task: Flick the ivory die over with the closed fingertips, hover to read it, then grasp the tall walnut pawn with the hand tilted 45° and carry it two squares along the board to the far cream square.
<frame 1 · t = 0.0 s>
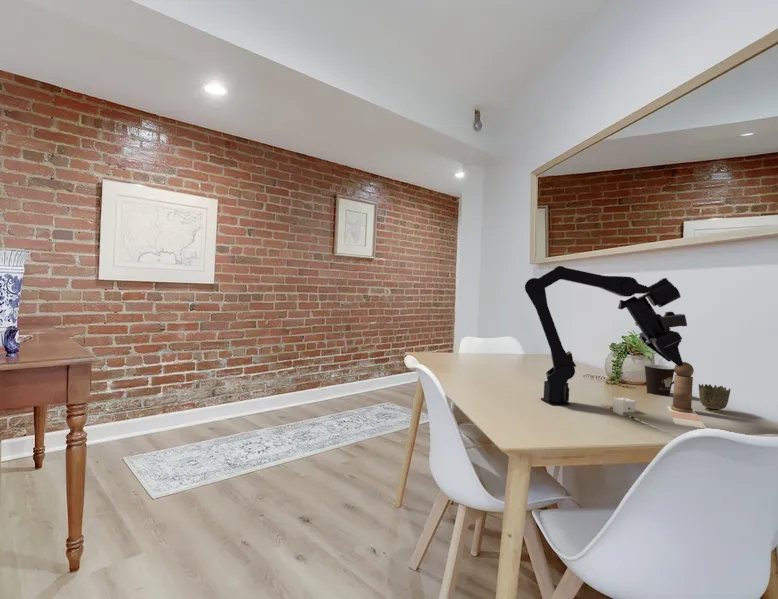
hand: (675, 363, 120), 15 cm above the table, tool tilted 35°, fingers open, 9 cm apart
coffee mug: (662, 396, 144), on the table
die: (623, 413, 121), on the table
cup: (712, 414, 124), on the table
board: (684, 419, 117), on the table
pawn: (681, 410, 123), point 1 cm above the table, touching board
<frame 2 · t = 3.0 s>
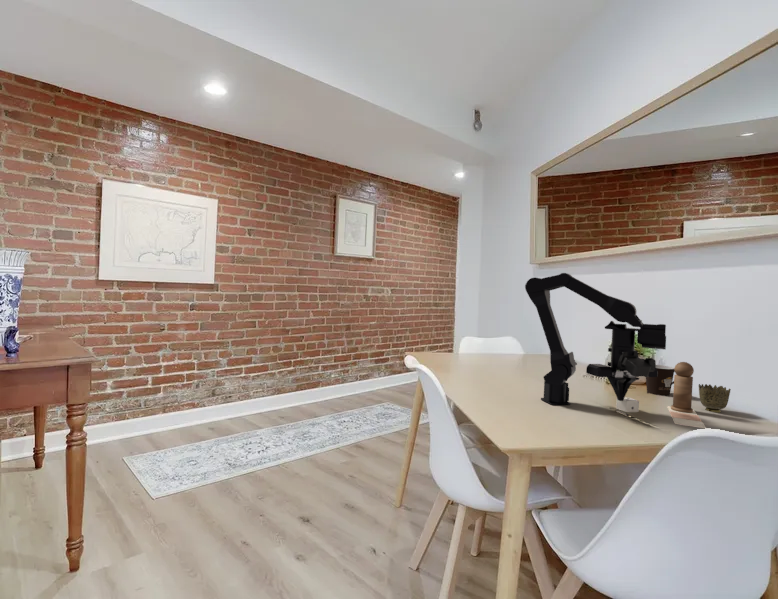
hand: (620, 400, 120), 4 cm above the table, tool pointing down, fingers closed
die: (626, 413, 121), on the table, touching gripper
everything else where it was.
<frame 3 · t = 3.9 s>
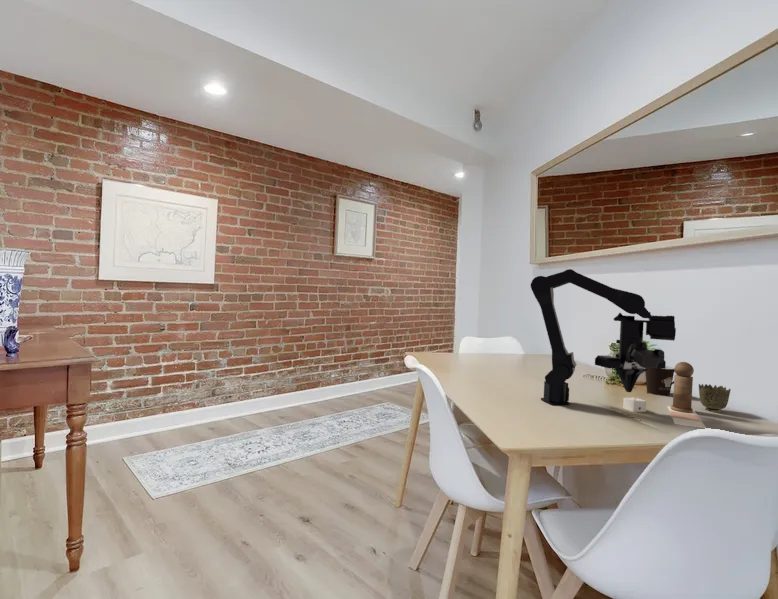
hand: (628, 392, 121), 6 cm above the table, tool pointing down, fingers closed
die: (634, 413, 122), on the table
everything else where it was.
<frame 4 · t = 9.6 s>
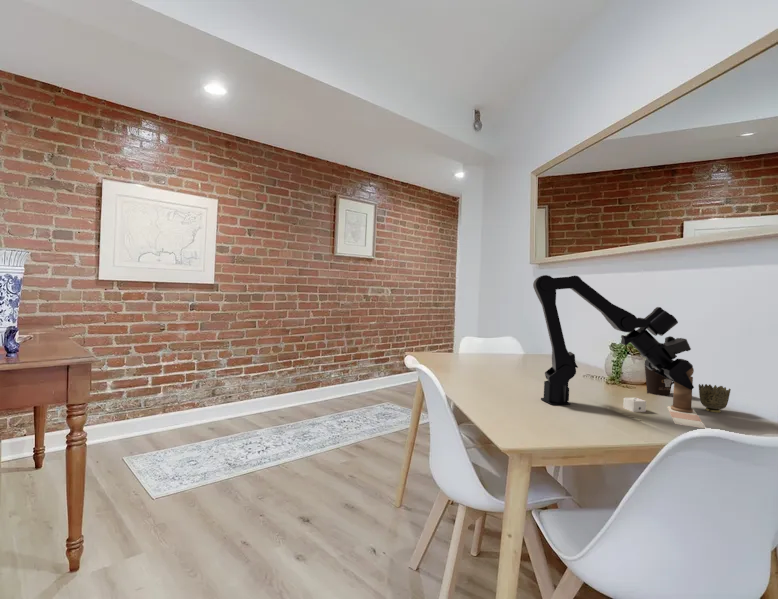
hand: (688, 386, 122), 8 cm above the table, tool tilted 45°, fingers closed on pawn, 4 cm apart
pawn: (681, 410, 123), point 1 cm above the table, touching board, gripper
everything else where it was.
when the fingers open (9 cm above the table, at t = 12.7 s): pawn drops 1 cm, resting on board.
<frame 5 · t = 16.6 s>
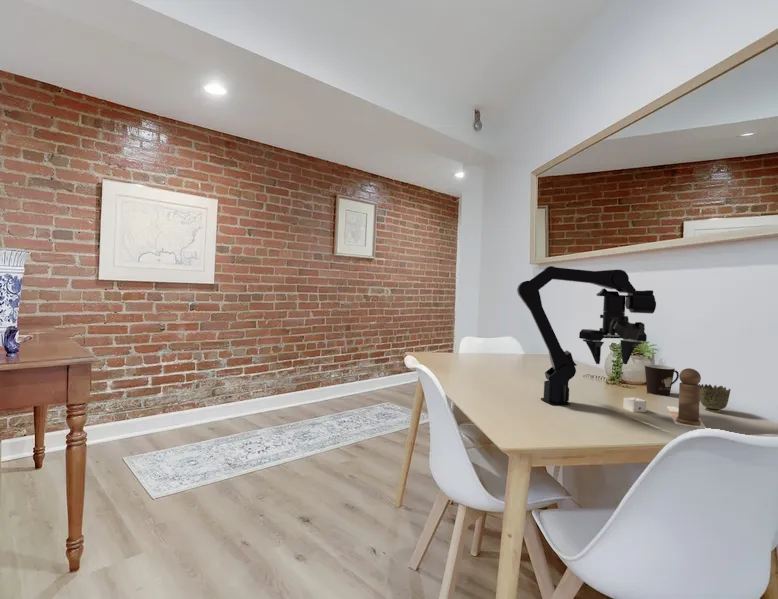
hand: (611, 364, 126), 13 cm above the table, tool pointing down, fingers open, 9 cm apart
pawn: (688, 422, 111), point 1 cm above the table, touching board
everything else where it was.
at the end: pawn inside the target area (0.0 cm from its centre), point 1.0 cm above the table; pawn tilted 2°; die moved 3.5 cm from its start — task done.
